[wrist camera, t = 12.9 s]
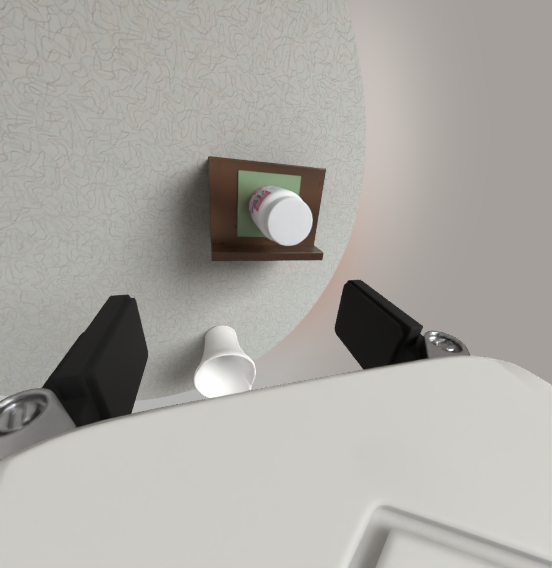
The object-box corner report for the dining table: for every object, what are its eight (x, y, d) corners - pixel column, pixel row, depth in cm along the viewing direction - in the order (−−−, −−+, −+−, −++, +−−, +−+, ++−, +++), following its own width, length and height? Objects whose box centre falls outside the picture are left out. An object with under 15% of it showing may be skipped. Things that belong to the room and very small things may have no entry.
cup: (226, 362, 44) (230, 409, 36) (184, 340, 40) (178, 388, 31) (258, 332, 43) (270, 373, 34) (219, 305, 39) (222, 345, 30)
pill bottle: (250, 181, 25) (268, 187, 18) (291, 189, 26) (323, 197, 19) (245, 225, 27) (259, 247, 19) (283, 230, 28) (310, 252, 21)
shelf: (208, 158, 29) (208, 154, 20) (304, 168, 33) (339, 169, 24) (210, 236, 33) (211, 261, 25) (295, 238, 37) (322, 260, 28)
